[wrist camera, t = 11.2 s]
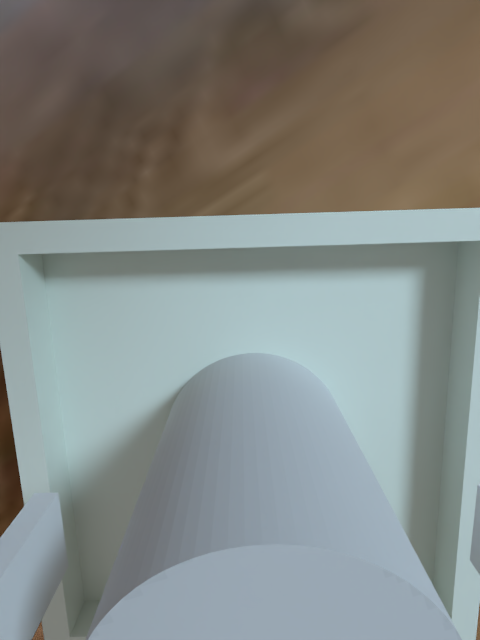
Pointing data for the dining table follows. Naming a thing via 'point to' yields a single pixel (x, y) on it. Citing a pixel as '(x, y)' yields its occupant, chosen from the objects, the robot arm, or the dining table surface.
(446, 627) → the white round cylinder
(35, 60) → the dining table surface
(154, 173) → the dining table surface
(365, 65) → the dining table surface
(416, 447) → the tray
